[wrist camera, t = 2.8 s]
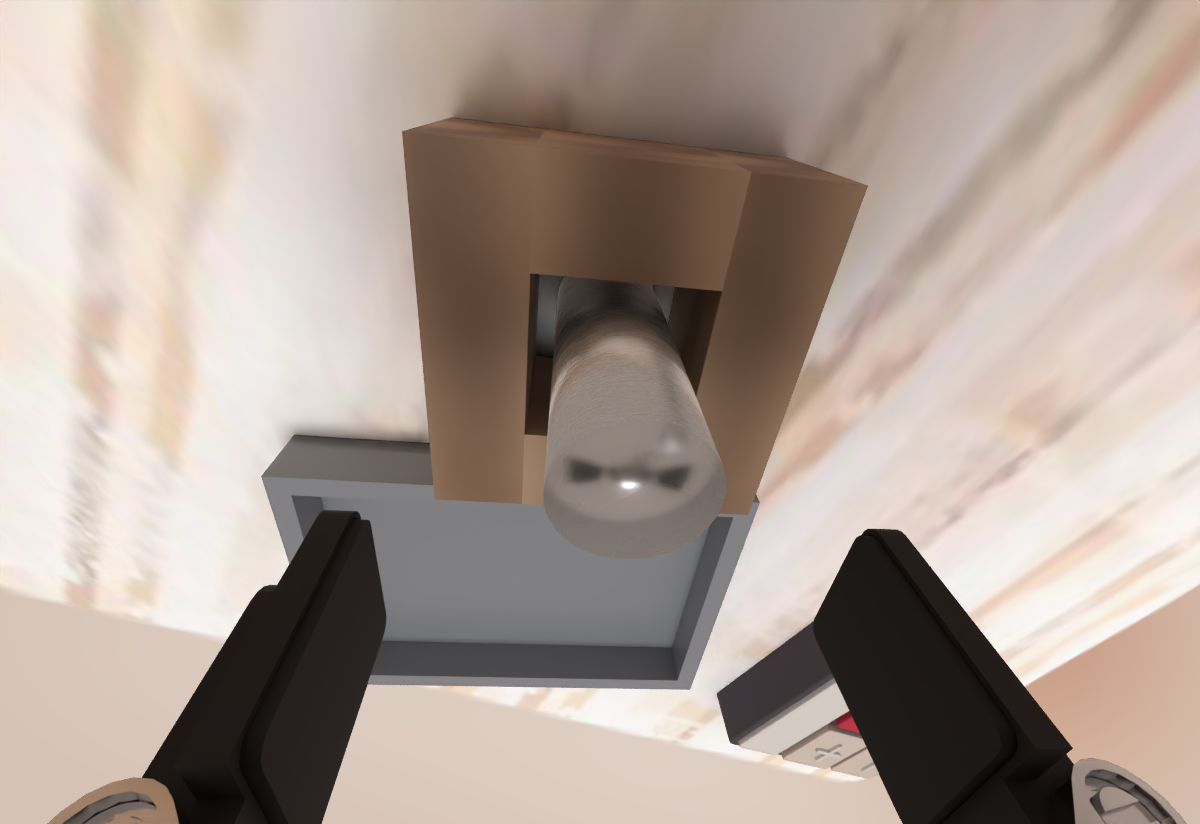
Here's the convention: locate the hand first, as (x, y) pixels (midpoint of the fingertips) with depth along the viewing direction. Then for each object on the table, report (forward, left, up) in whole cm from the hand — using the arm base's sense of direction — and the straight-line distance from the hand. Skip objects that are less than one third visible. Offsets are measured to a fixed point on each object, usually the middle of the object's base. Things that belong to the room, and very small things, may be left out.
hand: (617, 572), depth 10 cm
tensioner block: (0, -1, -14) cm, 14 cm away
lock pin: (0, -1, -14) cm, 14 cm away
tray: (+3, +15, -14) cm, 21 cm away
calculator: (-22, +28, -14) cm, 38 cm away
